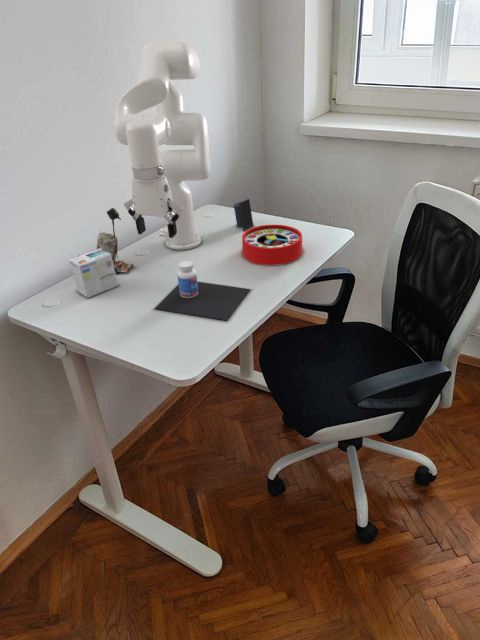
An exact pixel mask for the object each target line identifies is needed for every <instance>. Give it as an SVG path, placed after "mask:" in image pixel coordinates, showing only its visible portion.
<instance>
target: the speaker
mask: <svg viewBox="0 0 480 640" xmlns="http://www.w3.org/2000/svg"><path fill="white" fill-rule="evenodd" d="M233 211H234V215H235V222H236V226H237V227H238V228H242V230H243V232H246V231H247V230H249V229H251V228H254V227H255V226H254V219H253V215H252V214H253V213H252V208H251V202H250V199H249V198H247V199H245V200H243V201H239V202H238V201H237V202H235V203H234V204H233Z"/></svg>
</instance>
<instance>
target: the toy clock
mask: <svg viewBox="0 0 480 640" xmlns="http://www.w3.org/2000/svg"><path fill="white" fill-rule="evenodd" d="M241 245H242V256H243V258H244V259H245V260H246V261H248V262H250V263H253V264H256V265H260V266H283V265H287V264H290V263H294V262H295V261H297V260H298V259H299V258H301V256H302V255H303V234H302V232H301V231H300V230H299V229H298V228H295V227H293V226H290V225H286V224H285V225H284V224H262V225H258V226H254V227H252V228H250V229H247V230H245V231H244V232H243V234H242V235H241Z"/></svg>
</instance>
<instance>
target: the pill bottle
mask: <svg viewBox="0 0 480 640" xmlns="http://www.w3.org/2000/svg"><path fill="white" fill-rule="evenodd" d="M178 269H179V270H178V271H177V273H176V274H177V283H178V285H179V291H180V295H181V297H183V298H193V297H195V296H197V295H198V284H197V282H198V276H197V270H195V269H194V263H193V262H192V261H189V260H184V261H180V262H179V263H178Z"/></svg>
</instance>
